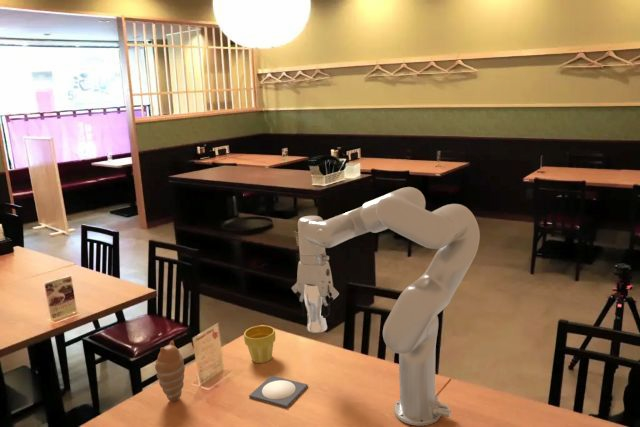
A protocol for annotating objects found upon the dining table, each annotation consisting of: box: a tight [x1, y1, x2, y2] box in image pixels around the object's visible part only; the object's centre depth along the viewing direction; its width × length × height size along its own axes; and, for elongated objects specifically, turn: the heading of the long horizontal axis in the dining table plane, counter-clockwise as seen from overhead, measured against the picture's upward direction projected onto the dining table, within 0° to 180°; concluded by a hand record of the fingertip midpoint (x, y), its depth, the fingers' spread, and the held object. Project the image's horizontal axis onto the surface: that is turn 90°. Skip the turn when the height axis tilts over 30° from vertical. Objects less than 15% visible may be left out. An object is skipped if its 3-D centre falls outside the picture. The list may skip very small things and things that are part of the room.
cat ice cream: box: [154, 340, 186, 402], centre depth 154 cm, size 9×8×18 cm
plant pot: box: [243, 324, 276, 364], centre depth 177 cm, size 10×10×10 cm
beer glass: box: [304, 284, 328, 334], centre depth 158 cm, size 7×7×15 cm
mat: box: [248, 375, 309, 409], centre depth 157 cm, size 13×12×1 cm
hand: (316, 314), depth 159 cm, fingers closed on beer glass, 6 cm apart
